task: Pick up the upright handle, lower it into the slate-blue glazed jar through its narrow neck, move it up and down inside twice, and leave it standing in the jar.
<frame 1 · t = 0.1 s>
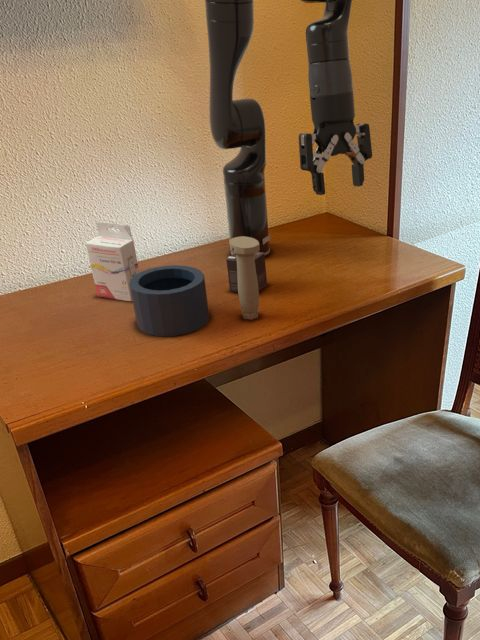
hand: (339, 190, 121), 22 cm above the table, tool pointing down, fingers open, 8 cm apart
jar: (173, 320, 129), on the table
ink cartridge box: (120, 295, 139), on the table
box: (248, 289, 141), on the table
handle: (250, 317, 129), on the table
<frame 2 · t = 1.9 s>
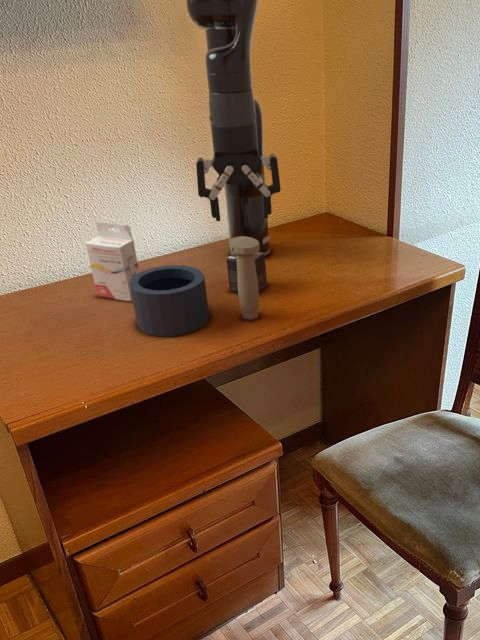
hand: (242, 218, 118), 19 cm above the table, tool pointing down, fingers open, 8 cm apart
nothing on the table moved.
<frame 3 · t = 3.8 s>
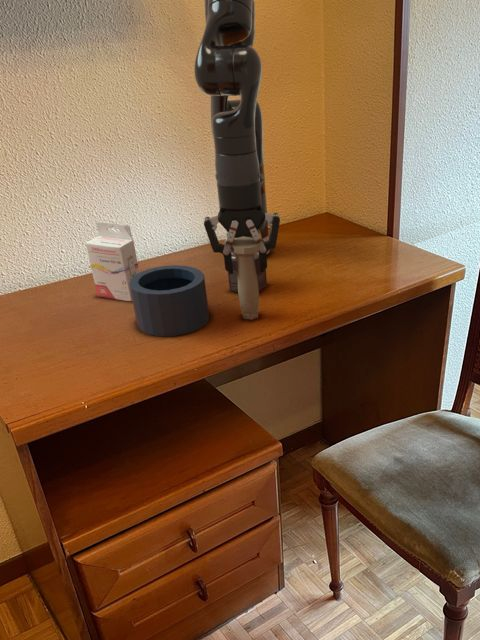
hand: (246, 271, 124), 9 cm above the table, tool pointing down, fingers closed on handle, 5 cm apart
handle: (250, 317, 129), on the table, touching gripper
everything else where it was.
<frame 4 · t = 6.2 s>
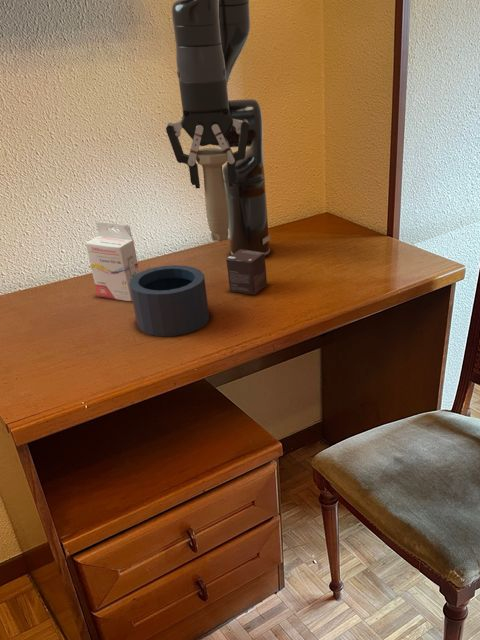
hand: (214, 185, 115), 25 cm above the table, tool pointing down, fingers closed on handle, 5 cm apart
handle: (220, 240, 120), point 16 cm above the table, touching gripper
everything else where it was.
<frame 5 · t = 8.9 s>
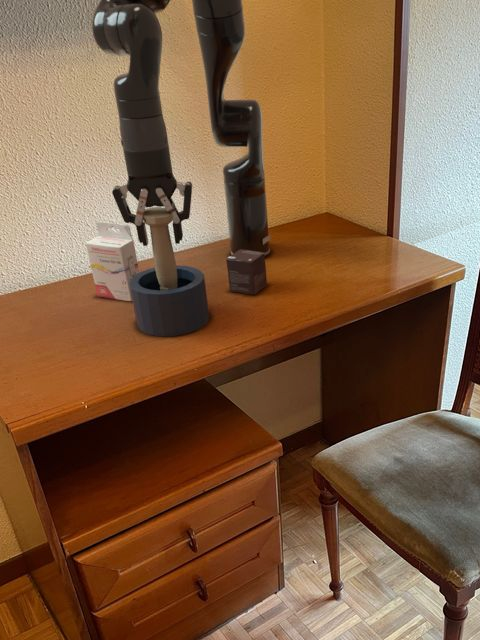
hand: (161, 243, 120), 15 cm above the table, tool pointing down, fingers closed on handle, 5 cm apart
handle: (169, 292, 126), point 6 cm above the table, touching gripper
everything else where it was.
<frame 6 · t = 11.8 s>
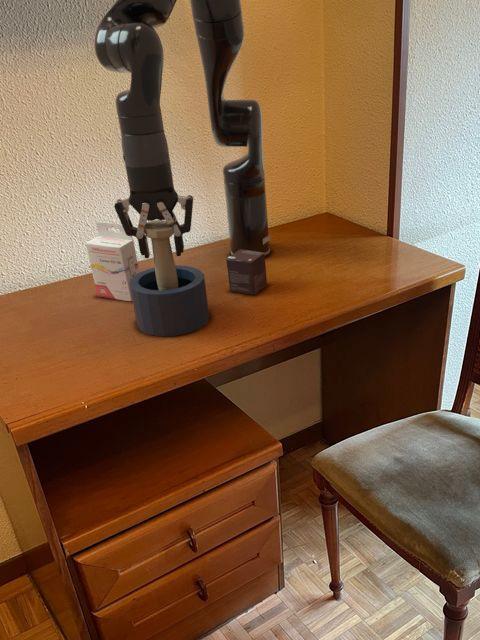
hand: (163, 255, 122), 13 cm above the table, tool pointing down, fingers closed on handle, 5 cm apart
handle: (171, 303, 127), point 3 cm above the table, touching gripper
everything else where it was.
when the fingers open (10 cm above the table, at t = 14.2 s): handle stays where it is, resting on jar.
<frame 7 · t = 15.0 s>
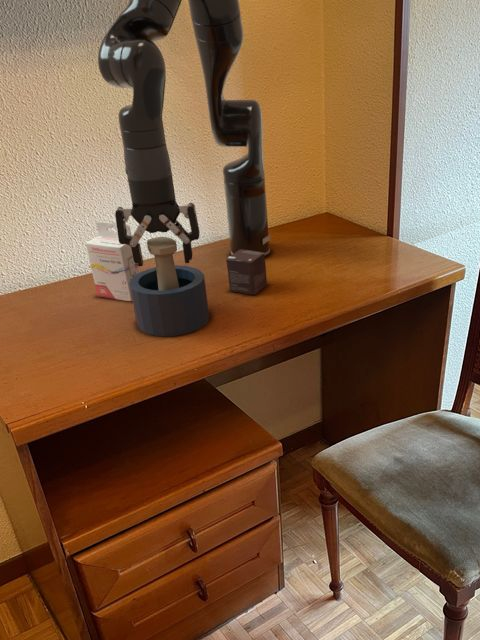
hand: (164, 263, 122), 12 cm above the table, tool pointing down, fingers open, 8 cm apart
handle: (173, 318, 129), resting on jar
everything else where it was.
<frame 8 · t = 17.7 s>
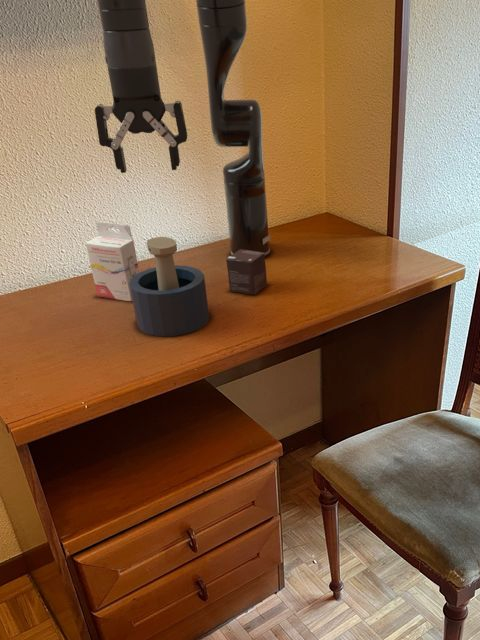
hand: (149, 170, 113), 28 cm above the table, tool pointing down, fingers open, 8 cm apart
nothing on the table moved.
at the end: handle 0.1 cm off-centre in the jar, point 0.3 cm above the jar's base; handle tilted 0°; the gripper is holding nothing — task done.
